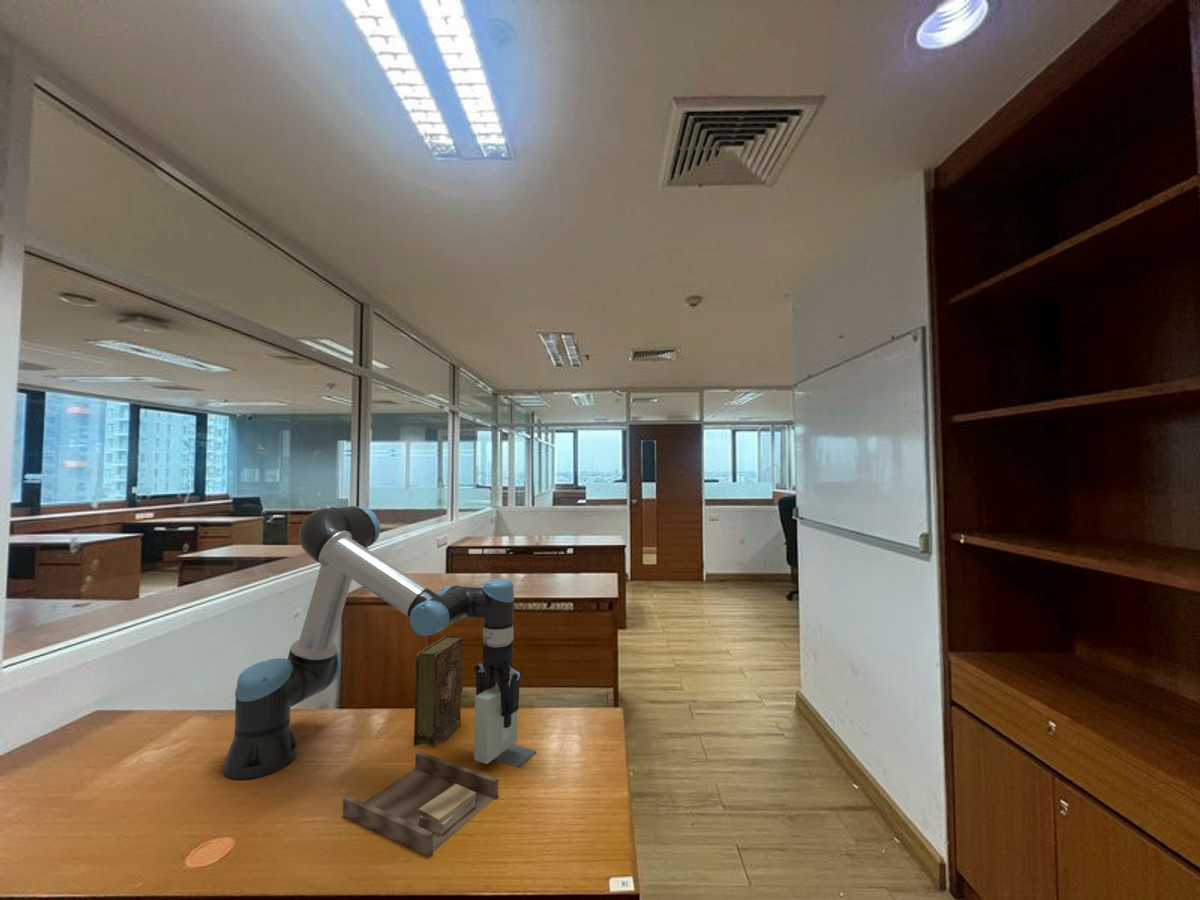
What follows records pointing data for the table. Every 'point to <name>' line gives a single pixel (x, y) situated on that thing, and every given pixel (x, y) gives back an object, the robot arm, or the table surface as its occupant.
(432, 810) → the offcut oak
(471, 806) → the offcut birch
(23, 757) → the table surface
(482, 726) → the upright sage slab
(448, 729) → the book
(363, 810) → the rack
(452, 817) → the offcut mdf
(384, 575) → the robot arm
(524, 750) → the mat
